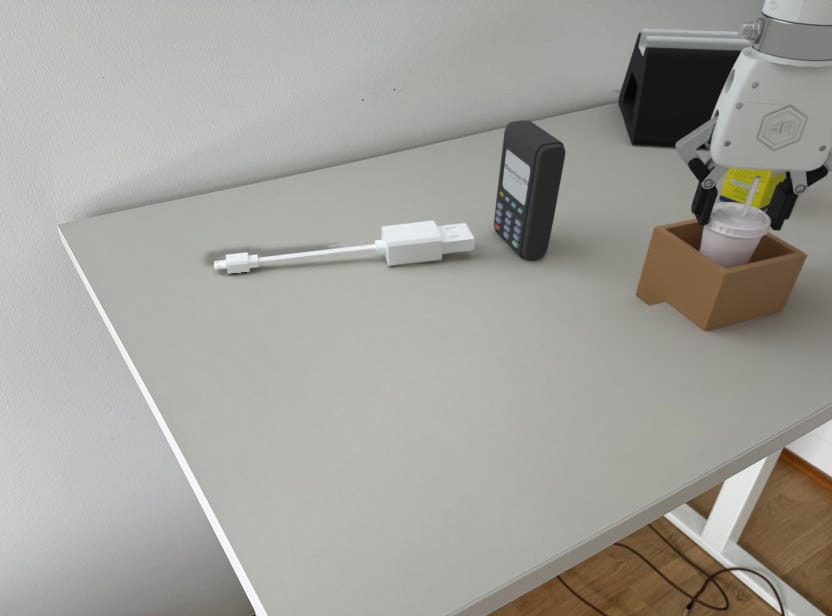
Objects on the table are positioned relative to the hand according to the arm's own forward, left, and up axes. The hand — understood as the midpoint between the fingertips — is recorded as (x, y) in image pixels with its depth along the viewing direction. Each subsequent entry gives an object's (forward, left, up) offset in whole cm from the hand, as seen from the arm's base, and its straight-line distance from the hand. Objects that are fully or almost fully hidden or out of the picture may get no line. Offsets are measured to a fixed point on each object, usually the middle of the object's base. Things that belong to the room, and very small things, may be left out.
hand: (736, 220), depth 73 cm
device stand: (-38, -47, -11) cm, 61 cm away
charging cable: (+34, -25, -11) cm, 44 cm away
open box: (0, 0, -11) cm, 11 cm away
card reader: (+12, -21, -11) cm, 26 cm away
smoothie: (0, 0, -9) cm, 9 cm away
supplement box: (-25, -20, -11) cm, 34 cm away
